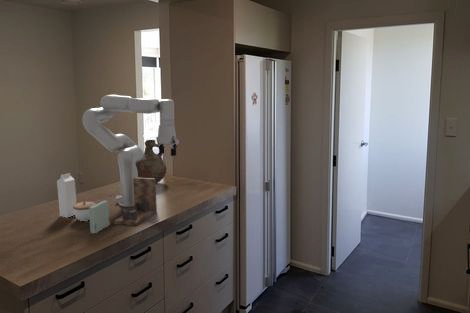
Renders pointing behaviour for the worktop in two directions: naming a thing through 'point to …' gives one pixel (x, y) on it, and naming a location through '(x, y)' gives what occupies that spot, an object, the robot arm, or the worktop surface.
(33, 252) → the worktop surface
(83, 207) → the lidded jar
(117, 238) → the worktop surface
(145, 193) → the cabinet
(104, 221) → the door
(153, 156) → the jug
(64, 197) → the milk
